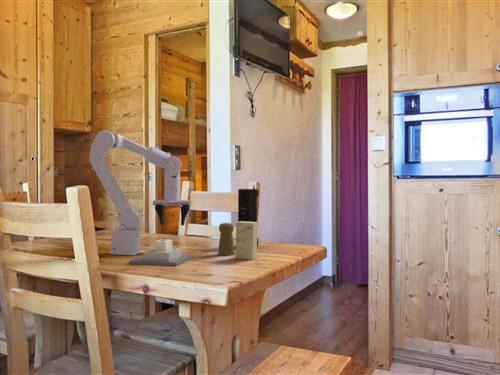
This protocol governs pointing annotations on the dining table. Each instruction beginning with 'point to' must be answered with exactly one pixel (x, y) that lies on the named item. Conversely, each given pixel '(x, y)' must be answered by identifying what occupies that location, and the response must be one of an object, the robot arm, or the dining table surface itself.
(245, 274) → the dining table surface
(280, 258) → the dining table surface
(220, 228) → the cork
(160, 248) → the brick
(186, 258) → the outlet plate
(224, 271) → the dining table surface
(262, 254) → the dining table surface
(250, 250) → the skincare box
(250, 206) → the portable radio
